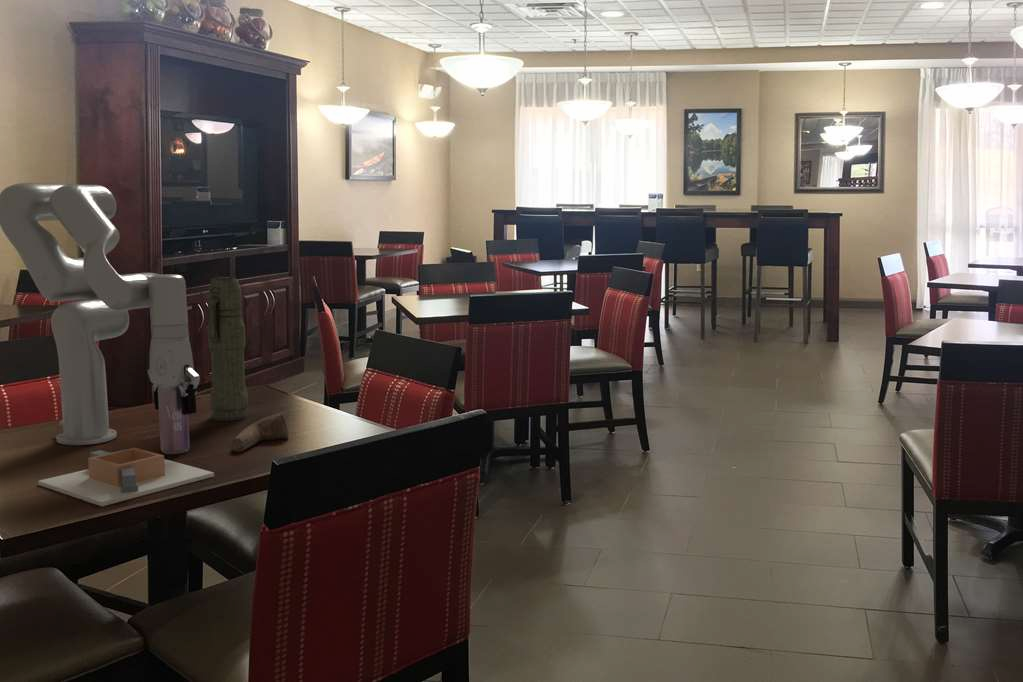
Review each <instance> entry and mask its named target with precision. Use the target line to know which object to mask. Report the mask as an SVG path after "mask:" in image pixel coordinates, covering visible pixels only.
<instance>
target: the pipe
mask: <svg viewBox="0 0 1023 682" xmlns="http://www.w3.org/2000/svg"><path fill="white" fill-rule="evenodd" d="M286 422H287V421H286V419H285V415H284V412H283V411H280V412H279V413H275V414H272V415H269V416H266V417H263V418H261V419H259V420H257V421H255V422H254V423H251V424H249V426H247V427H246V428H244V429H243V430H242V431H240V432H239V433H238V434H237V435H236V436H235V437H234V439H233V440H232V441H231V449H232V450H233V451H234V452H236V453H237V452H240V453H241V452H244V451H245V450H248V449H250V448H251V447H252V446H254V445H256V444H257V443H258V442H262V441H263V442H264V441H273V440H276V441H277V440H283V439H284V440H285V439H286V440H288V439H289V435H290V434H289V431H288V426H287V423H286Z"/></svg>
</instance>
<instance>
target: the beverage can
mask: <svg viewBox="0 0 1023 682" xmlns="http://www.w3.org/2000/svg"><path fill="white" fill-rule="evenodd" d="M187 387H188V386H185V388H186V389H187ZM181 396H183V394H182V392H181V391H180V389H179V387H178V386H177V387H167V386H163V385H159V387H158V403H159V410H158V420H159V421H158V422H159V437H160V441H159V442H160V450H161V452H162V453H163V454H166V455H179V454H185V453H187V452H188V451H189V449H190V448H191V446H190V442H191V441H190V426H189V425H190V423H189V421H190V420H189V414H187V415H183V414H182V406H181Z"/></svg>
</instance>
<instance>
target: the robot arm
mask: <svg viewBox="0 0 1023 682" xmlns="http://www.w3.org/2000/svg"><path fill="white" fill-rule="evenodd" d="M116 212H117V201H116V198H115V196H114V195H113V193H112V192H111V191H110V190H109V189H107V187H105V186H103V185H99V184H78V183H77V184H76V183H59V182H57V183H56V182H22V183H16V184H15V183H14V184H12V185H8V186H7V187H5V188H4V189H3V190H1V192H0V228H1V231H2V232H3V233H4V236H6V238H7V240H8V241H9V242H10V243H11V245H12V247H14V249H15V251H17V253H18V255H19V256H20V258H21V260H22V263H23V264H24V266H25V268H26V269H27V271H28V273H29V275H30V277H31V279H32V280H33V282H34V284H35V286H36V288H37V289H38V291H39V293H40V295H41V296H42V297H43V298H44V299H46V300H47V301H49V302H55V303H56V302H66V303H62V304H61V305H59V306H58V307H57V308H56V309H55V310H54V312H53V313H52V314H51V315H52V316H51V319H50V322H51V323H50V326H51V330H52V334H53V335H52V336H53V338H54V341H55V346H56V350H57V357H58V368H59V369H58V370H59V371H58V373H59V382H60V396H61V397H60V398H61V411H62V412H61V413H62V420H60V421H59V426H61V427H63V430H62V431H63V432H61V433H59V434H58V435H56V437H55V438H56V439H55V440H56V443H58V444H61V445H63V446H64V445H65V446H87V445H95V444H102V443H106V442H109V441H113V440H114V439H115V438H116V437H117V436H118V435H117V434H118V433H117V431H116V430H115V429H113V428H110V425H109V422H110V421H109V406H108V393H107V392H108V389H107V372H106V371H107V370H106V361H105V357H104V355H103V353H102V351H101V350H100V348H99V346H98V344H97V343H96V342H98V341H102V340H103V341H104V340H108V339H112V338H117V337H119V336H122V335H123V334H124V333H126V331H127V330H128V329H129V325H130V314H129V311H130V310H137V309H144V308H145V309H146V308H149V314H150V316H149V317H150V331H151V339H150V342H149V343H150V344H149V361H148V362H149V368H148V369H147V375H148V378H149V383H150V384H151V386H152V387H151V390H152V392H153V399H154V400H153V401H154V409H155V410H156V411H159V403H158V387H159V385H163V386H167V387H177V386H178V387H179V389H180V391H181V392H182V394H183V396H181V406H182V414H183V415H187V414H188V415H191V414H196V413H197V400H196V395H197V394H198V392H197V391H198V390H199V385H200V380H201V377H200V375H199V374H198V373H197V372H196V371H195V368H194V359H193V352H192V351H193V350H192V346H191V342H190V331H189V317H188V316H189V315H188V303H187V302H188V300H187V287H186V285H187V284H186V280H185V278H184V276H183V275H182V274H181V275H180V274H171V273H170V274H167V273H166V274H165V273H164V274H160V273H155V272H140V273H136V272H135V273H127V274H119V273H118V272H117V271H116V269H114V267H113V266H112V265H111V264H110V262H109V260H108V258H107V256H106V255H108V254H109V253H110V252H111V251H113V249H114V248H115V247H116V246H117V244H118V243H119V241H120V232H119V230H118V229H117V227H116V226H115V225H114V224H113V223H112V221H111V220H112V219H113V218H114V216H116ZM41 221H43V222H44V221H45V222H46V221H48V222H49V221H51V222H52V221H59V223H60V224H61V225H62V226H63V228H64V229H65V230H66V231H67V233H68V234H69V235H70V237H72V239H73V240H74V242H75V243H76V244H77V245H78V246H79V248H80V249H81V251H82V252H83V253H84V254H83V257H75V258H71V257H69V256H67V254H66V253H65V252H64V250H63V249H62V247H61V244H60V242H59V241H58V240H57V238H56V237H55V236H54V235H53V234H52V233H51V232H50V231H49V230H47V228H45V227H44V226H42V225H41V224H40V223H39V222H41ZM185 386H186V387H187V389H186V388H185Z"/></svg>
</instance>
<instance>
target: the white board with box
mask: <svg viewBox="0 0 1023 682" xmlns="http://www.w3.org/2000/svg"><path fill="white" fill-rule="evenodd" d="M89 453H90V457H88V458H87V460H88V468H86V469H84V470H79V471H75V472H70V473H67V474H66V473H65V474H61V475H57V476H53V477H49V478H45V479H40V480H38V481H37V483H38V485H39V486H41V487H44V488H47V489H49V490H53V491H56V492H59V493H62V494H64V495H67V496H70V497H74V498H75V499H78V500H81V499H82V501H85V502H88V503H91V504H93V505H97V506H99V507H106V506H108V505H112V504H117V503H120V502H124V501H128V500H131V499H134V498H139V497H142V496H146V495H149V494H154V493H157V492H162V491H165V490H169V489H172V488H176V487H180V486H183V485H187V484H191V483H192V484H193V483H196V482H198V481H202V480H205V479H209V478H214V477H215V472H214V471H210V470H206V469H202V468H199V467H195V466H193V465H192V466H191V465H189V464H184V463H180V462H177V461H173V460H169V459H165V455H164V454H160V453H156V452H153V451H148V450H145V449H141V448H138V447H131V448H127V449H122V450H117V451H114V452H108V451H105V450H101V449H99V450H96V451H90V452H89Z"/></svg>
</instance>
